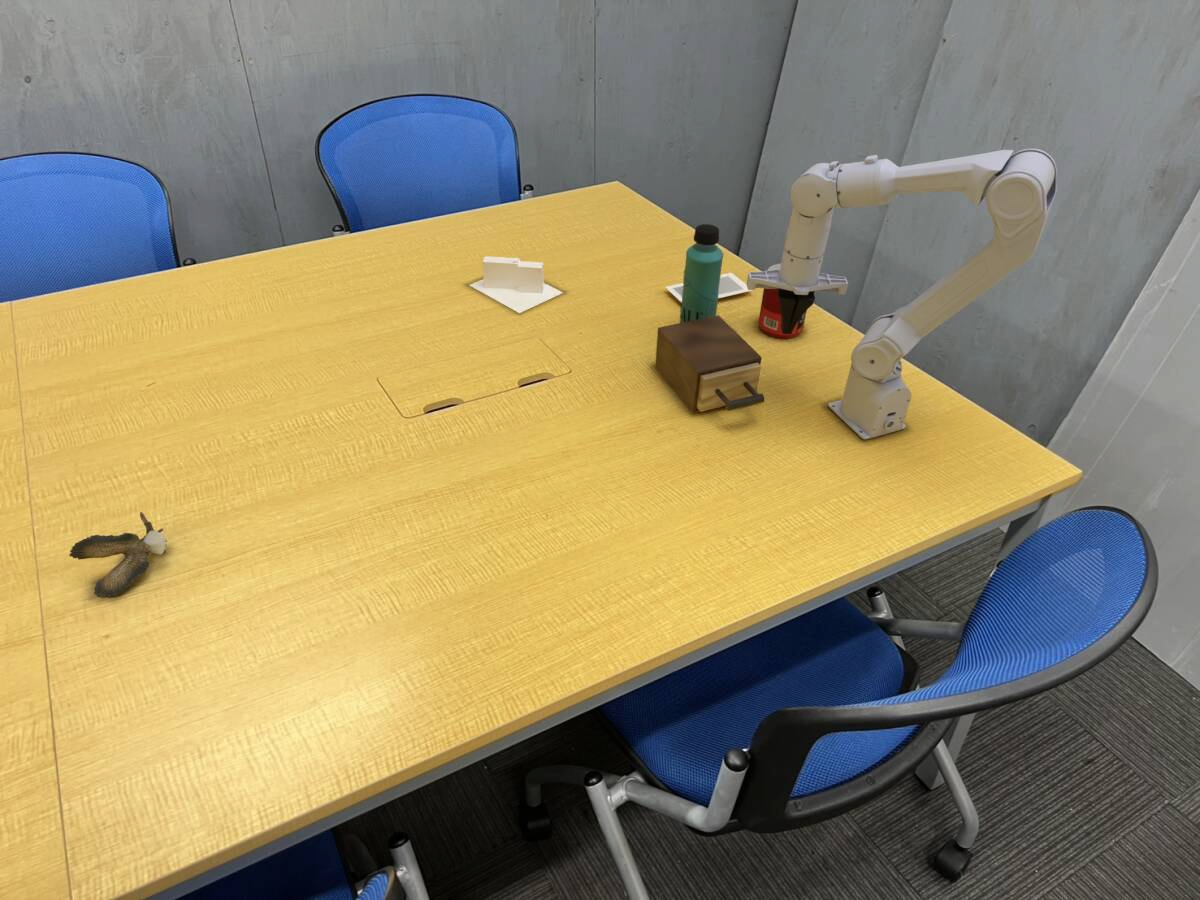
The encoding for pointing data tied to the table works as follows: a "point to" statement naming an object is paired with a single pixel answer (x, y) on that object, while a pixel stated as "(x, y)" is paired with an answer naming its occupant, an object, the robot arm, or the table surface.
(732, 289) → the touchpad
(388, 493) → the table surface
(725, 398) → the drawer
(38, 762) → the table surface
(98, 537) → the eagle figurine
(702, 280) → the beverage bottle
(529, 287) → the napkin holder
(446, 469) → the table surface
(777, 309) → the canned food
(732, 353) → the cabinet
